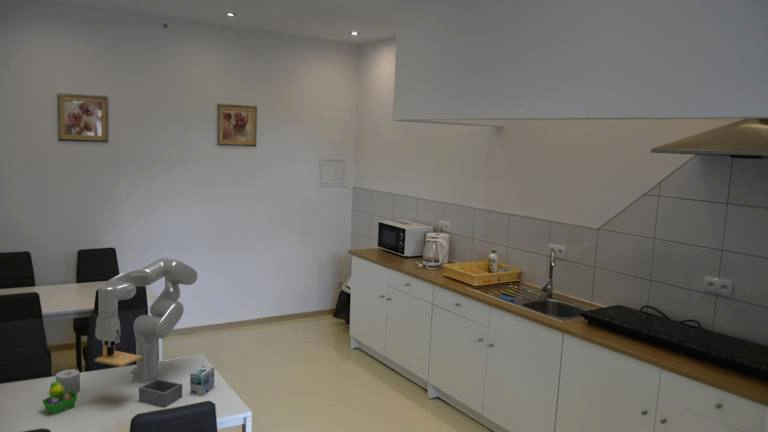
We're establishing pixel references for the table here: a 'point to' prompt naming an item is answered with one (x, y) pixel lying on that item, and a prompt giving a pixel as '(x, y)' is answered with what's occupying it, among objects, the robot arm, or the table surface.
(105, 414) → the table surface
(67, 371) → the toilet tissue
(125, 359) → the lid
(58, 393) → the fruit basket
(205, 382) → the light bulb box
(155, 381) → the tub
